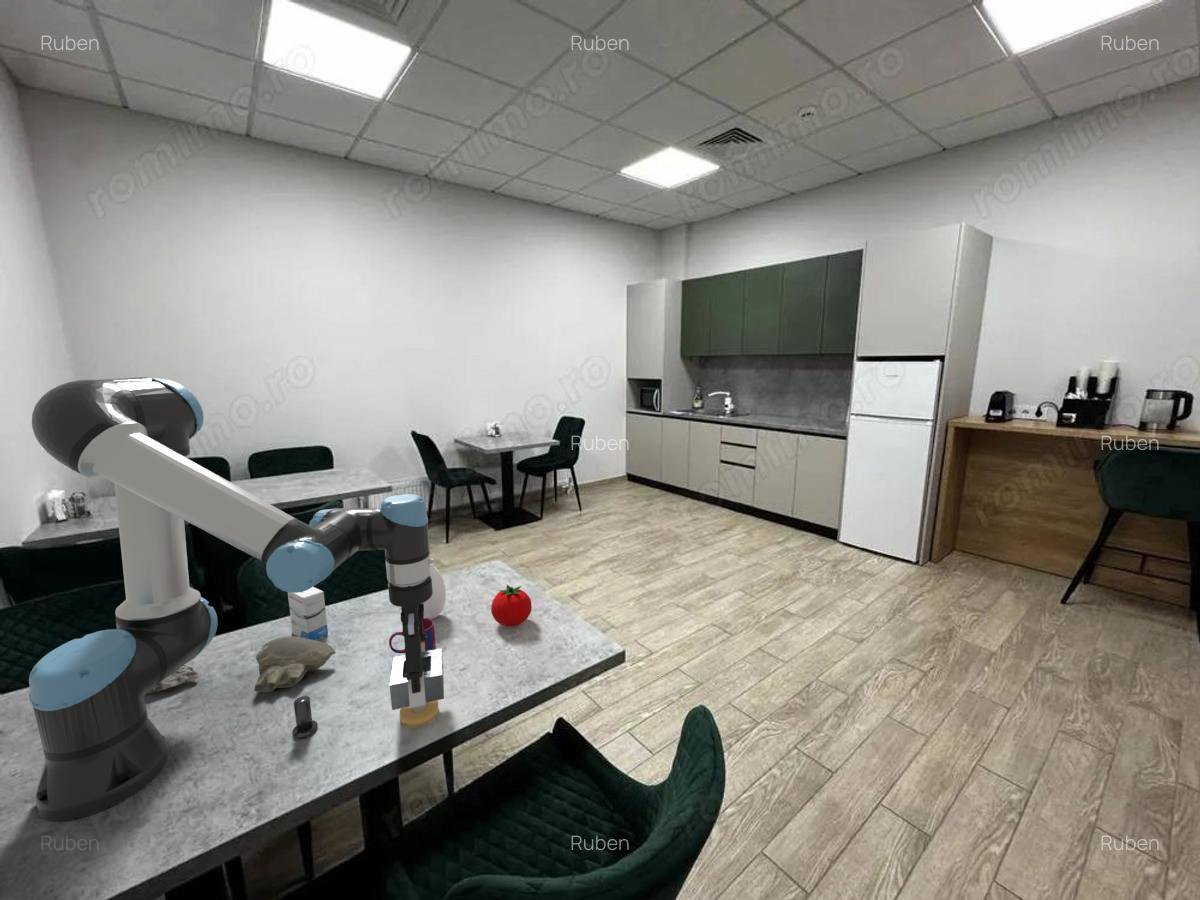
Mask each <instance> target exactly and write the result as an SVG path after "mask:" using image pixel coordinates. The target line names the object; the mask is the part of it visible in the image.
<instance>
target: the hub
mask: <svg viewBox="0 0 1200 900" xmlns="http://www.w3.org/2000/svg"><path fill="white" fill-rule="evenodd" d="M439 710H440V708H439V700H437V701H432V702H427V703H426V705H421V706H416V707H411V708H410V706H409V707H404V708H400V709H399V720H400V723H401V724H402V725H404V727H407V728H418V727H423V726H425V725H427V724H430V723H432V721H434V720H435V719H436V718H437V716H438V715H439Z"/></svg>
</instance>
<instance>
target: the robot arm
mask: <svg viewBox="0 0 1200 900" xmlns="http://www.w3.org/2000/svg"><path fill="white" fill-rule="evenodd" d="M204 420H205V419H204V411H203V407H202V406H201V403H200V401H199V400H198V398H197V397H196V396H195V394H193V392H191V391H189V389H188V388H186V386H184V385H182V384H180V383H179V382H176V381H173V380H170V379H168V378H157V377H155V378H154V377H147V376H145V377H138V376H137V377H128V378H127V377H126V378H107V379H105V378H104V379H80V380H79V379H78V380H71V381H68V382H65V383H63V384H59V385H58V386H55V387H54V388H51V389H50V390H49V391H47V392H45V393H44V394H43V395H42V396H41V397H40V399H39V400H38V401H37V402H36V404H35V406H34V408H33V411H32V413H31V428H32V431H33V434H34V437H35V438H36V440H37V443H38V444H39V445H40V446H41V448H43V449H44V450H45V452H46V453H47V454H48V455H50V456H51V457H52V458H54V460H56V461H57V462H59V463H61V464H62V465H64V466H66V467H67V468H69V469H71V470H72V471H74V472H76V473H77V474H80V475H82V476H84V477H86V478H88V479H101V478H102V479H103V478H105V479H107V480H109V481H110V482H112V483H114V493H115V502H116V503H115V504H116V511H117V522H118V530H119V531H118V532H119V540H120V541H119V543H120V552H121V560H122V562H121V563H122V570H123V571H122V572H123V580H124V591H125V600H123V602H122V603H120V605H118V606H117V607H116V608H115V612H114V613H115V622H116V623H115V624H116V628H111V629H105V630H99V631H95V632H92V633H88V634H85V635H84V636H83V637H82V638H81V637H80V638H74V639H72V640H70V641H66V642H65V643H63V644H61V645H60V646H58V647H56V648H54V649H52V650H50V652H48V653H46V654H45V655H44V656H43V657H42V658H41V659H40V660H38V661H37V663H36V664H35V665H34V666H33V668H32V670H30V673H29V676H28V684H29V690H30V691H29V694H28V696H29V701H30V704H31V706H32V709H33V712H34V716H35V721H36V724H37V728H38V733H39V736H40V737H39V738H40V742H41V747H42V751H43V754H44V755H43V756H44V763H43V766H42V771H41V774H40V778H39V783H38V784H37V785H38V786H37V789H36V793H35V804H36V809H37V812H38V814H39V816H40V817H41V818H43V819H44V820H47V821H52V822H61V821H60V820H65V821H70V820H69V819H72V820H75V819H74V818H77V819H80V817H81V818H84V817H87V816H91V815H93V814H96V813H99V812H101V811H103V810H106V809H108V808H110V806H111V807H113V806H115V805H117V804H119V803H120V802H123V801H124V800H126V799H127V798H129V797H131V796H133V795H134V794H136V793H137V792H138V790H139V791H140V790H142V789H143V788H144V787H145V786H147V785H148V784H149V783H151V780H152V779H153V778H154V779H155V778H156V777H157V776H158V775H159V774H160V773H161V772H162V771H163V769H164V767H165V766H166V765H167V763H168V760H169V756H170V753H169V747H168V743H167V740H166V738H165V737H164V736H163V735H162V734H161V732H160V730H159V729H158V728H157V727H156V726H155V724H154V723H153V722H152V720H151V719H149V716H148V712H147V711H148V710H147V706H146V701H145V697H146V696H145V695H146V694H148V693H147V692H148V691H150V690H151V689H152V688H154V687H155V686H156V685H158V684H159V683H160V682H162V681H163V680H164V679H166V678H167V677H168V676H170V675H171V674H172V673H174V672H175V671H176V670H178V669H179V668H180V667H182V666H183V665H186V664H187V663H189V662H190V661H192V660H193V659H195V658H196V657H197V656H199V654H201V653H202V651H203V650H204V649H205V648H207V647H208V646H209V644H210V643H211V642H213V639H214V638H215V635H216V634H217V633H216V632H217V630H218V629H217V628H218V616H217V613H216V610H215V608H214V606H210V605H209V603H210V602H209V601H208V600H207V599H206V598H204V597H202V596H201V593H200V591H199V590H197V589H194V588H192V587H190V579H189V577H190V575H189V569H188V568H189V566H188V555H187V552H188V551H187V541H186V539H187V538H186V530H185V529H186V528H185V527H186V526H185V521H186V522H187V523H189V524H191V525H193V526H195V527H197V528H198V529H201V530H202V531H203V532H205V533H208V534H210V535H212V536H214V537H216V538H218V539H219V540H221V541H223V542H225V543H227V544H229V545H231V546H233V547H234V548H236V549H238V550H240V551H242V552H244V553H246V554H247V555H250V556H251V557H253V558H255V559H257V560H259V561H261V562H262V563H264V564H266V567H265V569H266V575H267V577H268V579H269V580H270V581H271V582H272V583H273V585H274V587H276V588H277V589H279V590H280V591H283V592H286V593H288V592H291V593H298V592H303V591H306V590H308V589H310V588H312V587H314V586H316V585H318V584H319V583H321V582H323V581H324V580H326V579H327V577H329V576H330V575H331V574H332V572H334V571H335V570H336V569H337V568H338V567H340V566H341V564H343V563H344V562H346V561H347V560H348V559H349V558H350V557H352V556H353V555H354V554H355V553H357V552H359V551H363V552H364V551H380V550H381V551H383V550H384V555H385V569H386V579H387V582H388V584H387V589H388V599H389V602H390V604H391V605H393V606H395V607H400V608H401V612H400V622H401V624H402V632H403V639H404V642H403V643H404V649H405V653H404V655H405V658H406V674H403V678H406V679H407V680H408V691H409V703H410V708H411V707H416V706H421V705H426V699H425V686H424V673H423V669H422V657H421V652H424V651H425V644H424V642H421V641H423V640H427V634H424V635H423V631H424V628H423V620H424V618H425V617H424V602H426V601H427V600H429V599H430V598H431V596H432V593H433V590H432V578H431V576H430V574H431V566H430V564H432V563H435V560H434V558H433V557H430V555H431V554H430V553H431V552H430V551H431V550H430V543H429V542H430V539H429V537H430V535H429V518H428V513H427V506H426V501H425V498H424V497H422V496H421V495H418V494H414V493H413V494H412V493H408V494H407V493H406V494H405V493H404V494H395V495H391V496H388V497H386V498H384V499H382V501H381V503H380V507H378V508H377V507H373V508H372V507H371V508H370V507H369V508H365V507H364V508H363V507H361V508H357V507H355V508H345V507H334V508H329V509H327V508H326V509H320V510H319V511H317V512H315V514H313V517H312V519H311V520H310V521H309V524H307V523H305V522H303V521H301V520H299V519H298V518H296V517H294V516H292V515H290V514H288V513H286V512H284V511H283V510H281V509H279V508H278V507H276V506H274V505H272V504H270V503H269V502H267V501H265V500H264V499H262V498H260V497H258V496H256V495H254V494H252V493H251V492H249V491H248V490H245V489H244V488H242V487H239V486H238V485H237V484H235V483H233V482H231V481H229V480H227V479H226V478H224V477H222V476H220V475H219V474H216V473H214V472H213V471H211V470H209V469H208V468H205V467H203V465H200V464H198V463H196V462H195V461H193V460H191V459H189V457H190V456H191V451H190V450H191V449H190V448H191V447H190V440H191V439H192V438H194V437H195V436H196V435H197V433H198V432H200V431H201V430H202V427H203V426H204ZM156 775H157V776H156ZM154 779H153V780H154ZM153 780H152V781H153ZM148 782H149V783H148ZM147 783H148V784H147ZM146 784H147V785H146ZM142 787H143V788H142ZM135 792H136V793H135Z"/></svg>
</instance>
